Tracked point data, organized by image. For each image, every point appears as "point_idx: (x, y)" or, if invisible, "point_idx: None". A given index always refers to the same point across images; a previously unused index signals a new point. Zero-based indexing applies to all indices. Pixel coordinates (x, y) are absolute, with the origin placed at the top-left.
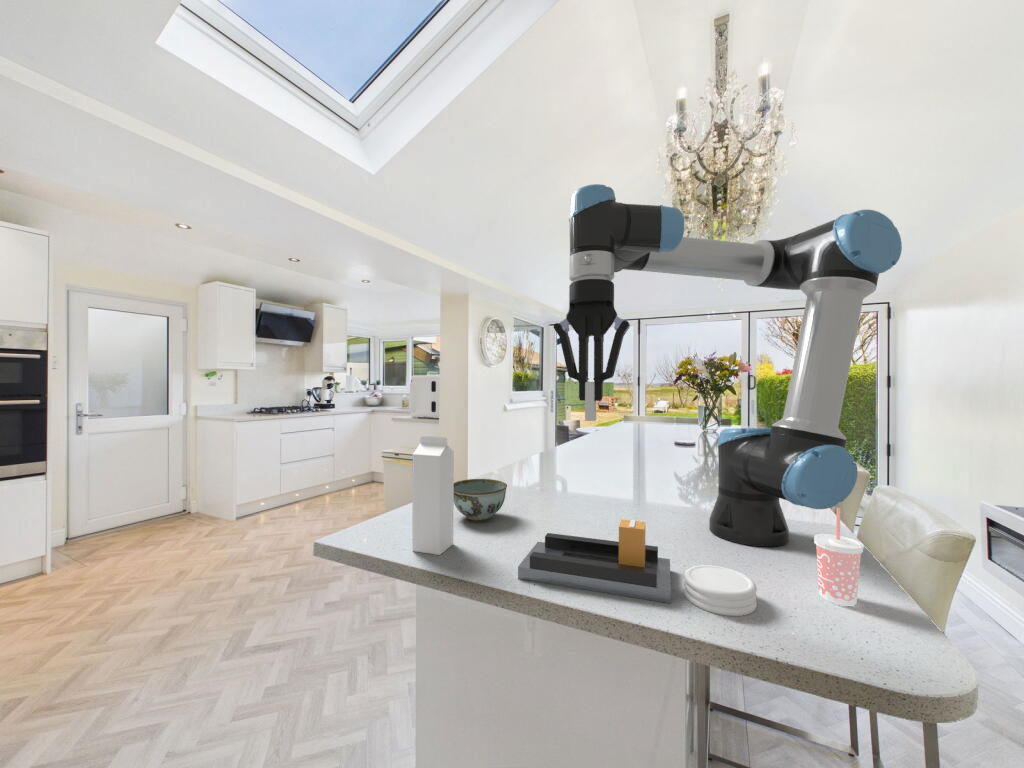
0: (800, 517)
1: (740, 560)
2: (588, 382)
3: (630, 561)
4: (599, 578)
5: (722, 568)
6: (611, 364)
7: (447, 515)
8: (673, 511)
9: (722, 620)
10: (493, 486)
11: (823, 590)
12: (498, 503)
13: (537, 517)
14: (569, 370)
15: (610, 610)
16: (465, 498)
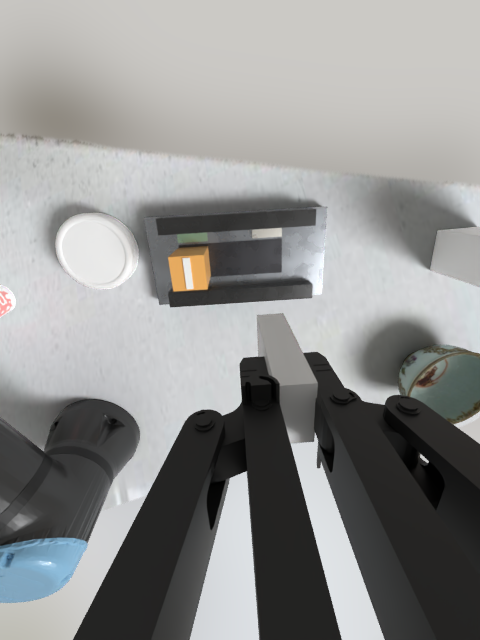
0: None
1: (96, 356)
2: (301, 384)
3: (192, 248)
4: (224, 213)
5: (94, 284)
6: (179, 472)
7: (468, 260)
8: None
9: (93, 201)
10: None
11: (3, 293)
12: (404, 371)
13: None
14: (435, 424)
15: (204, 172)
16: (458, 349)
